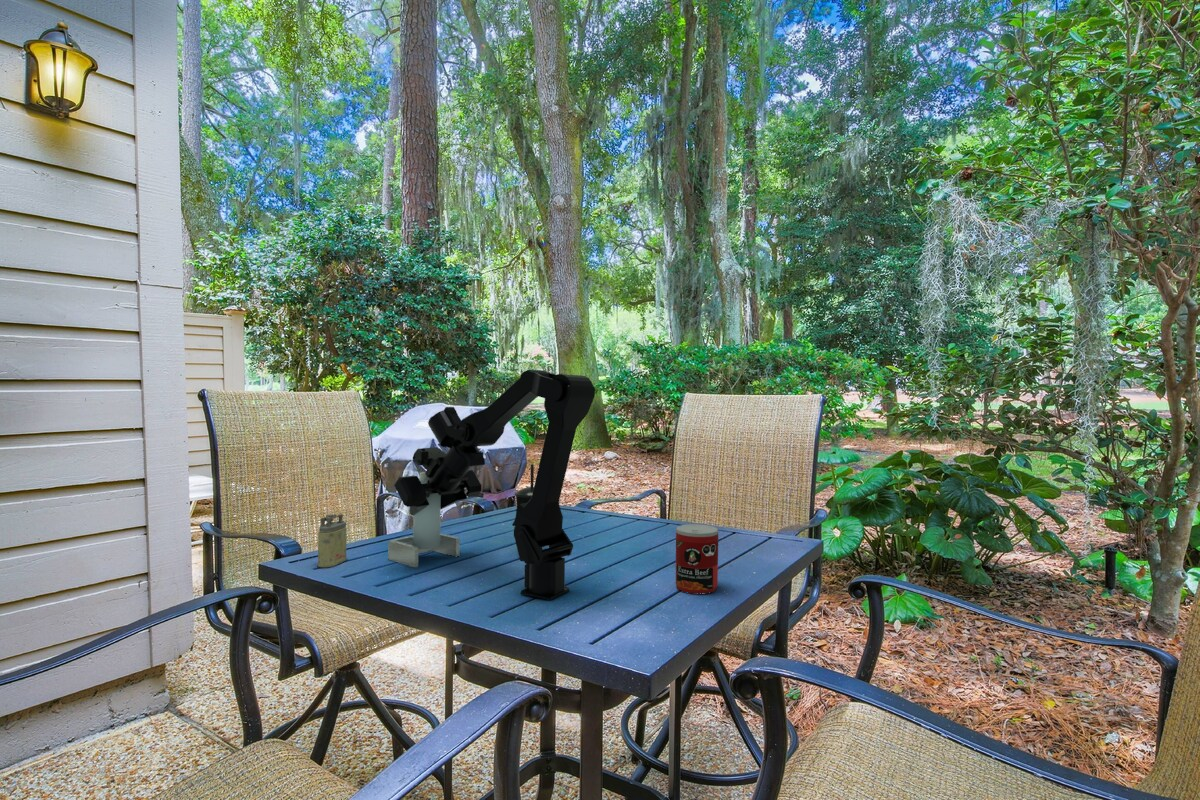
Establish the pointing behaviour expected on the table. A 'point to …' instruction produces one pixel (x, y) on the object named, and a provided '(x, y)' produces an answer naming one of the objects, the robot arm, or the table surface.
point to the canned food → (696, 558)
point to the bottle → (427, 521)
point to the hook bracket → (408, 553)
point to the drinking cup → (526, 491)
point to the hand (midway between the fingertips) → (423, 511)
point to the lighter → (332, 541)
